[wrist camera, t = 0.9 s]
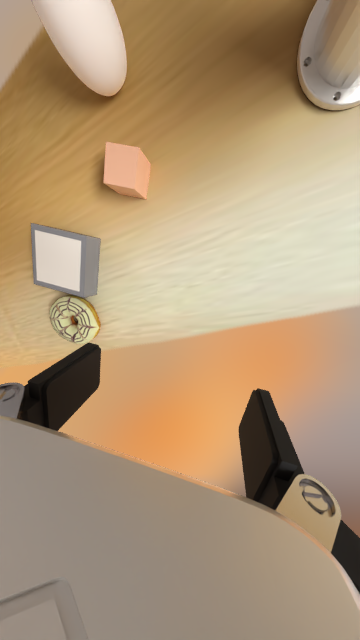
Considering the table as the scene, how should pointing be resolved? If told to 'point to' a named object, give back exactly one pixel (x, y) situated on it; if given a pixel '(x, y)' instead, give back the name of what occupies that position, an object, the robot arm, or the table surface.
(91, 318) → the decorated donut
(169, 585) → the robot arm
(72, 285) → the grey flat square block
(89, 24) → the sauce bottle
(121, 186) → the terracotta cube
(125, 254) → the table surface
